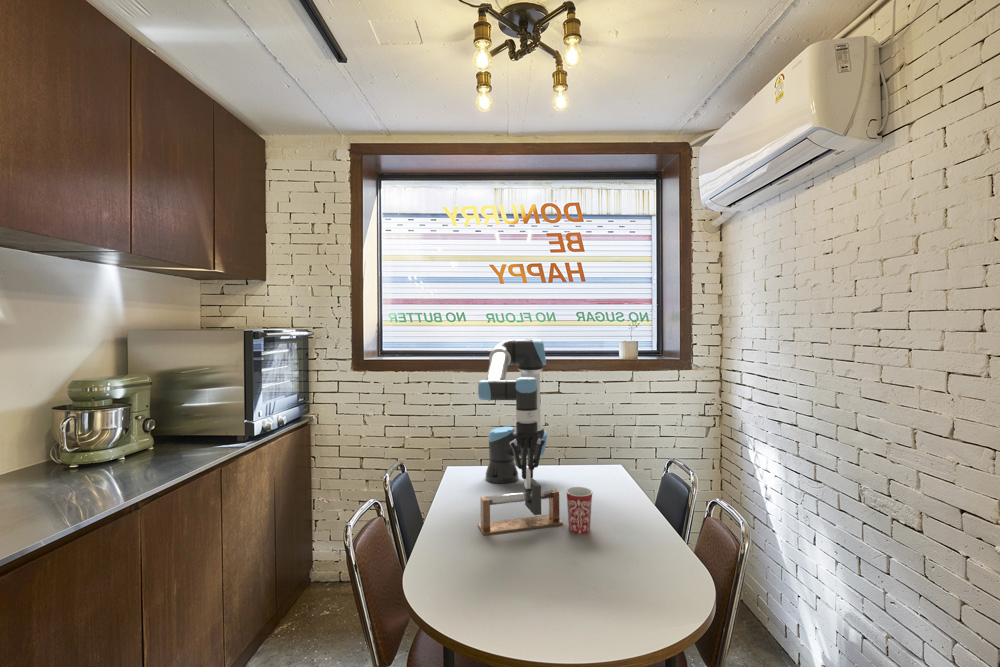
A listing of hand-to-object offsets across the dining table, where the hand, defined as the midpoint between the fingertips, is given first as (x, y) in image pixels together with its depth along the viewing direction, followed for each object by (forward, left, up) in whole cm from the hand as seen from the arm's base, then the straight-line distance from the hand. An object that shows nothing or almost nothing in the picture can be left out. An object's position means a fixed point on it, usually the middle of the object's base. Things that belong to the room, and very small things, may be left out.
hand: (527, 487), depth 169 cm
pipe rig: (0, -3, -13) cm, 13 cm away
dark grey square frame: (0, +2, -8) cm, 8 cm away
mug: (+8, +16, -13) cm, 23 cm away
